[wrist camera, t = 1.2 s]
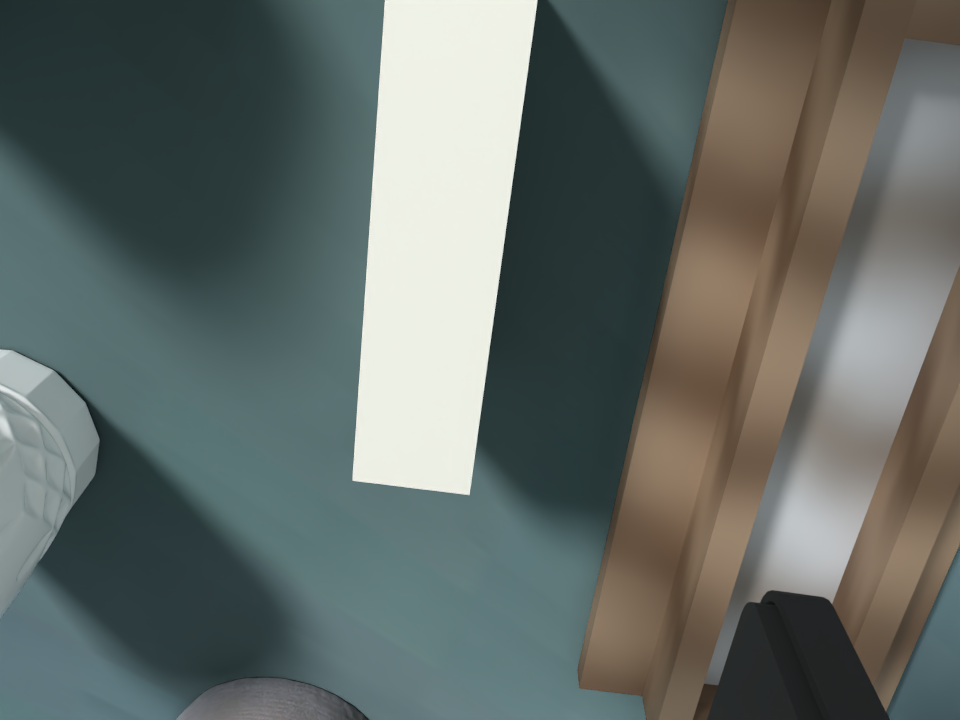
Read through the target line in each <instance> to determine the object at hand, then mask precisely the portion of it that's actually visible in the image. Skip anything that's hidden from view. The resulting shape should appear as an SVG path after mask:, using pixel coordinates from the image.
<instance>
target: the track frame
mask: <svg viewBox="0 0 960 720" xmlns="http://www.w3.org/2000/svg"><path fill="white" fill-rule="evenodd" d="M959 545H960V0H728V2H727V7H726V11H725V16H724V20H723V25H722V29H721V34H720V38H719V42H718V47H717V51H716V56H715V60H714V65H713V69H712V74H711V78H710V82H709V87H708V91H707V96H706V100H705V105H704V109H703V114H702V118H701V123H700V127H699V131H698V136H697V140H696V145H695V149H694V154H693V158H692V163H691V167H690V171H689V176H688V180H687V185H686V189H685V194H684V198H683V203H682V207H681V211H680V216H679V220H678V225H677V229H676V234H675V238H674V243H673V247H672V251H671V256H670V260H669V265H668V269H667V274H666V278H665V283H664V287H663V291H662V296H661V300H660V305H659V309H658V314H657V318H656V323H655V327H654V331H653V336H652V340H651V345H650V349H649V354H648V358H647V363H646V367H645V372H644V376H643V380H642V385H641V389H640V394H639V398H638V403H637V407H636V412H635V416H634V420H633V425H632V429H631V434H630V438H629V443H628V447H627V452H626V456H625V460H624V465H623V469H622V474H621V478H620V483H619V487H618V492H617V496H616V500H615V505H614V509H613V514H612V518H611V523H610V527H609V532H608V536H607V540H606V545H605V549H604V554H603V558H602V563H601V567H600V572H599V576H598V580H597V585H596V589H595V594H594V598H593V603H592V607H591V612H590V616H589V621H588V625H587V629H586V634H585V638H584V643H583V647H582V652H581V656H580V661H579V665H578V681H579V688H580V689H588V690H597V691H605V692H614V693H622V694H631V695H639V696H642V697H643V703H644V709H645V715H646V720H707V718H708V715H709V712H710V709H711V706H712V703H713V700H714V697H715V694H716V690H717V687H718V684H719V681H720V678H721V675H722V672H723V669H724V665H725V662H726V659H727V656H728V653H729V650H730V647H731V644H732V641H733V637H734V634H735V631H736V628H737V625H738V622H739V619H740V616H741V613H742V610H743V608H744V606H745V605H746V604H747V603H748V602H756V603H760V602H761V600H762V597H763V596H764V595H765V593H766V592H767V591H771V590H775V591H783V592H790V593H797V594H805V595H812V596H819V597H824V598H826V599H828V600H829V601H830V602H831V604H832V605H833V607H834V608H835V610H836V612H837V614H838V616H839V618H840V620H841V622H842V624H843V626H844V628H845V631H846V633H847V635H848V637H849V639H850V641H851V643H852V645H853V647H854V649H855V651H856V653H857V655H858V657H859V659H860V661H861V663H862V665H863V667H864V669H865V671H866V673H867V675H868V677H869V679H870V681H871V683H872V685H873V687H874V689H875V691H876V693H877V695H878V697H879V699H880V701H881V703H882V705H883V707H884V709H885V711H887V708H888V706H889V704H890V701H891V699H892V697H893V695H894V692H895V690H896V688H897V686H898V683H899V681H900V679H901V676H902V674H903V672H904V670H905V667H906V665H907V663H908V661H909V658H910V656H911V654H912V652H913V649H914V647H915V645H916V642H917V640H918V638H919V636H920V633H921V631H922V629H923V627H924V624H925V622H926V620H927V618H928V615H929V613H930V611H931V608H932V606H933V604H934V602H935V599H936V597H937V595H938V593H939V590H940V588H941V586H942V583H943V581H944V579H945V577H946V574H947V572H948V570H949V568H950V565H951V563H952V561H953V559H954V556H955V554H956V552H957V549H958V547H959Z"/></svg>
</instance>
